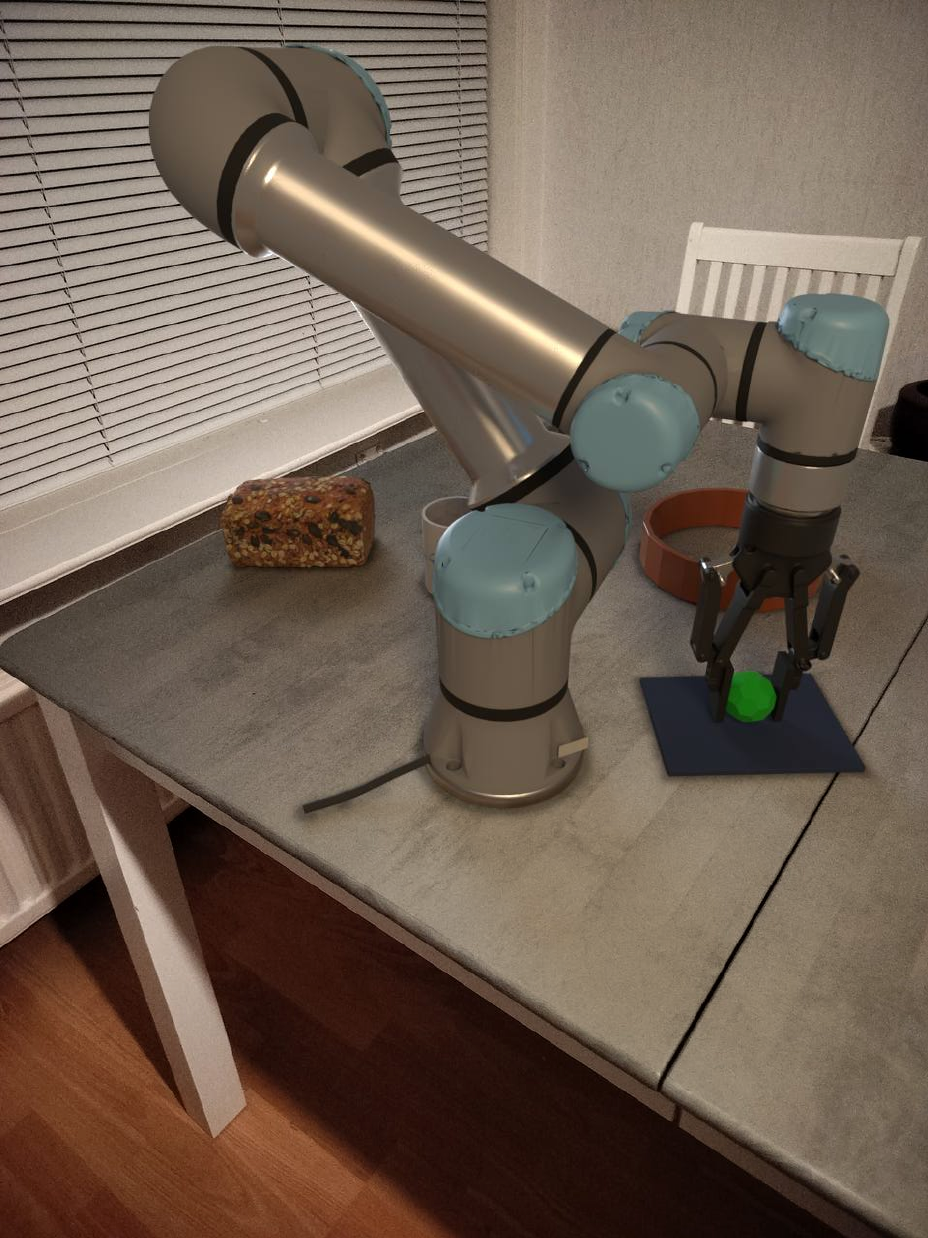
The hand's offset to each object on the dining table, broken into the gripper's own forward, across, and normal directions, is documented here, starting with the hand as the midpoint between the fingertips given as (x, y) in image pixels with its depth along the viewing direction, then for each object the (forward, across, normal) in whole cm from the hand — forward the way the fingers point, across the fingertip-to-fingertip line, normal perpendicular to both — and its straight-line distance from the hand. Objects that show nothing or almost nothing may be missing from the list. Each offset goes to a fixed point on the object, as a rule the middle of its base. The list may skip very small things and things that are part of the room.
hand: (744, 712), depth 81 cm
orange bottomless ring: (+1, -7, -31) cm, 32 cm away
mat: (+1, 0, 0) cm, 1 cm away
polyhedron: (0, 0, 0) cm, 0 cm away
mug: (+2, +28, -26) cm, 38 cm away
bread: (+2, +49, -37) cm, 61 cm away
